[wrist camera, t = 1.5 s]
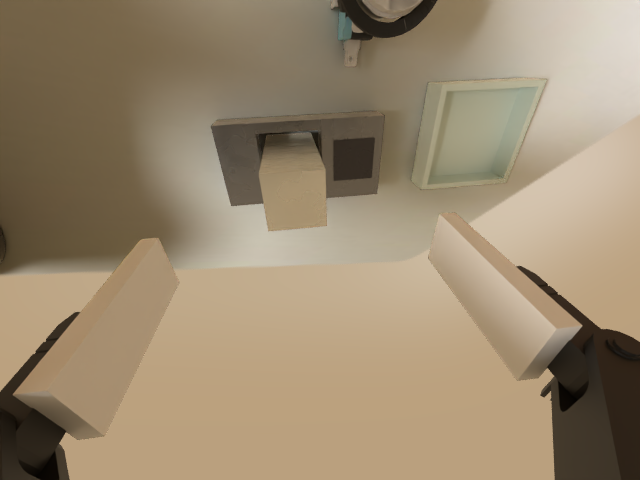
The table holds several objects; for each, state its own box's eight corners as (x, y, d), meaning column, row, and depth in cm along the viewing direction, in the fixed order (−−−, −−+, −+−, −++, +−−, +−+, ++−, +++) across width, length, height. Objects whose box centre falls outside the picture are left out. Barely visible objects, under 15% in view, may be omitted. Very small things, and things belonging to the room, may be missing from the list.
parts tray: (411, 180, 28) (421, 189, 26) (428, 82, 23) (442, 84, 21) (490, 174, 29) (506, 182, 26) (523, 77, 23) (547, 79, 21)
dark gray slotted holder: (235, 194, 26) (231, 206, 24) (217, 119, 22) (210, 126, 20) (369, 183, 27) (377, 194, 25) (375, 110, 23) (385, 115, 21)
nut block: (272, 177, 26) (268, 231, 18) (266, 135, 24) (258, 174, 15) (312, 174, 26) (326, 225, 18) (310, 132, 24) (325, 169, 16)
